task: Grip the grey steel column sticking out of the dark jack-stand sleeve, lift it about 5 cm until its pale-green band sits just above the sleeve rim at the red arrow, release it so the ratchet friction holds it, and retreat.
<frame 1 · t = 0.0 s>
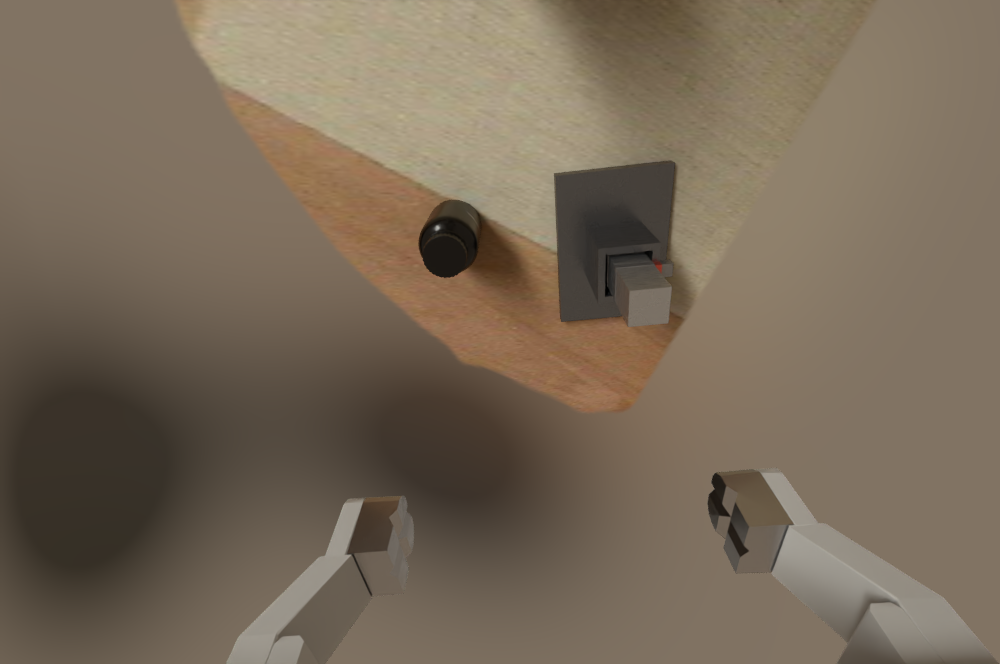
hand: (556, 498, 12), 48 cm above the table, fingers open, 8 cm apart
stand: (610, 245, 58), on the table
column: (628, 274, 50), point 10 cm above the table, slide at 0.0 cm
supplement bottle: (455, 224, 57), on the table
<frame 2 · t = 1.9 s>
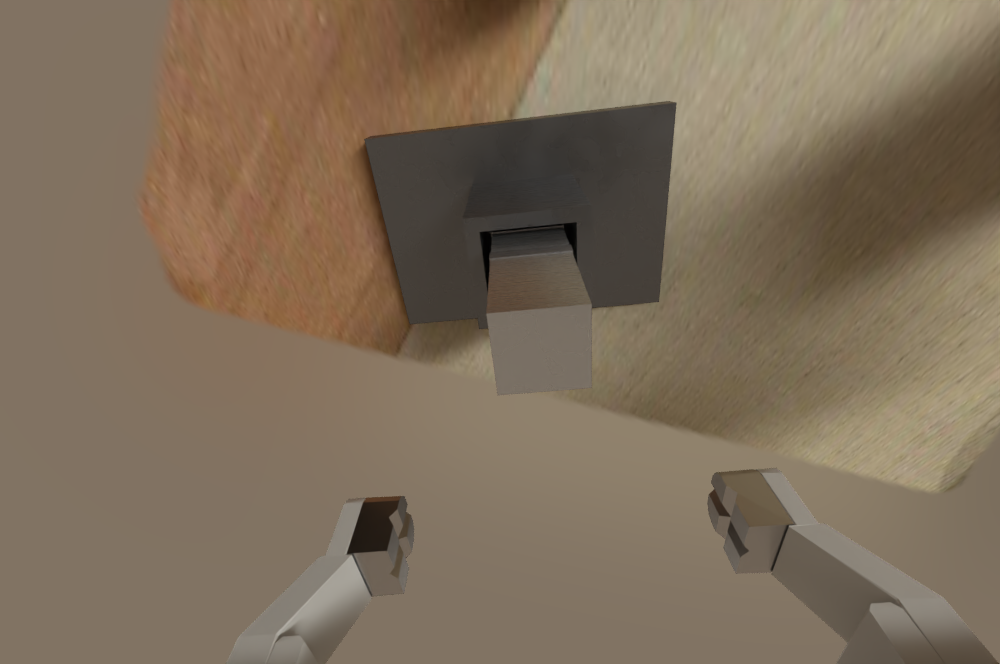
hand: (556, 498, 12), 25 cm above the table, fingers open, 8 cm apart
stand: (524, 221, 33), on the table
column: (531, 273, 24), point 10 cm above the table, slide at 0.0 cm
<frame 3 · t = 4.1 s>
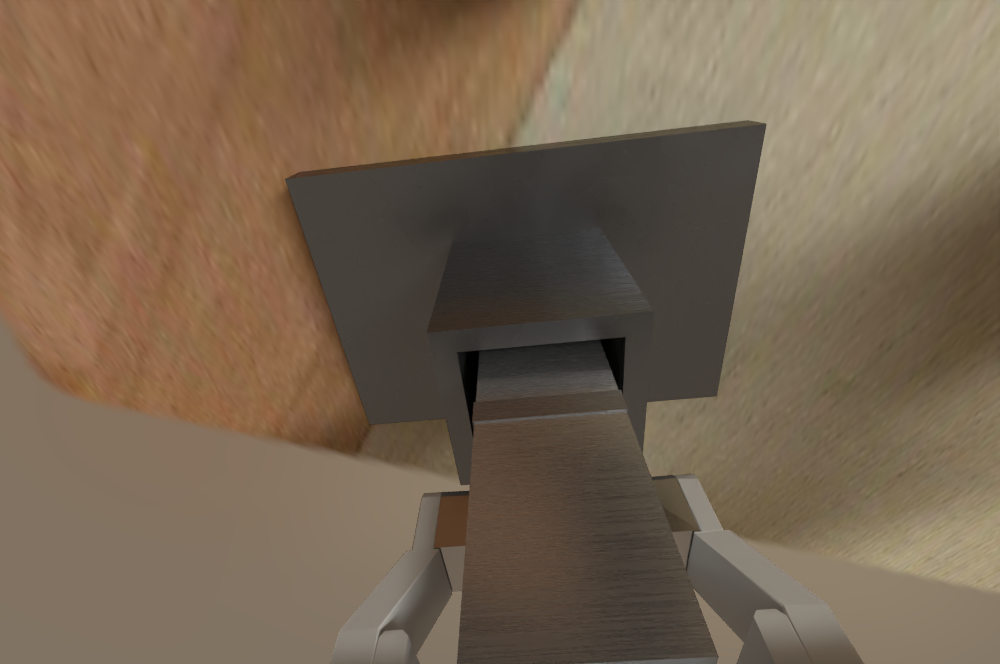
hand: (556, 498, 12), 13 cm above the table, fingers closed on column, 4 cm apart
stand: (528, 289, 23), on the table
column: (545, 413, 15), point 10 cm above the table, slide at 0.0 cm, touching gripper
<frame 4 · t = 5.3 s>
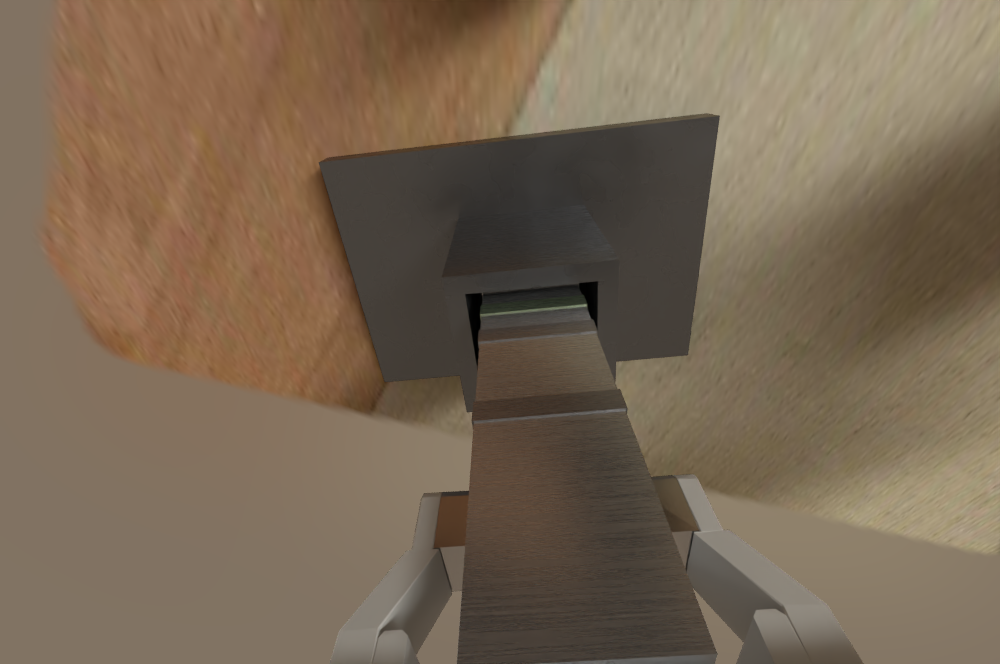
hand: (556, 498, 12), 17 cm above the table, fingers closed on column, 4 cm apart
stand: (524, 260, 27), on the table
column: (544, 413, 15), point 14 cm above the table, slide at 4.2 cm, touching gripper
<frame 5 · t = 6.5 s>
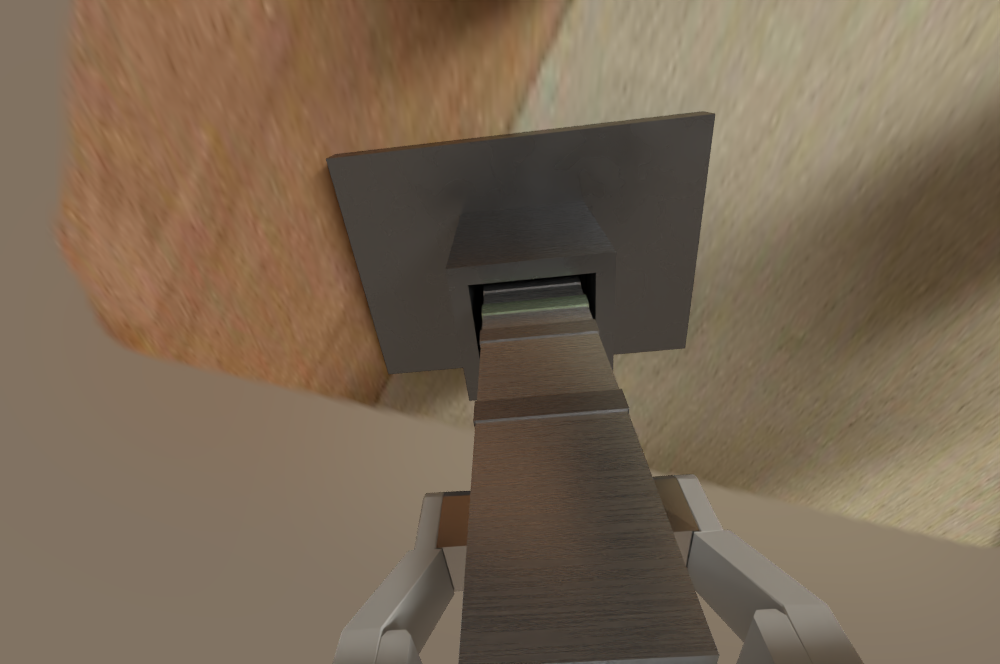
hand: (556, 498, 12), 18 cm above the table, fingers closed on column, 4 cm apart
stand: (524, 255, 27), on the table
column: (546, 412, 15), point 15 cm above the table, slide at 5.0 cm, touching gripper
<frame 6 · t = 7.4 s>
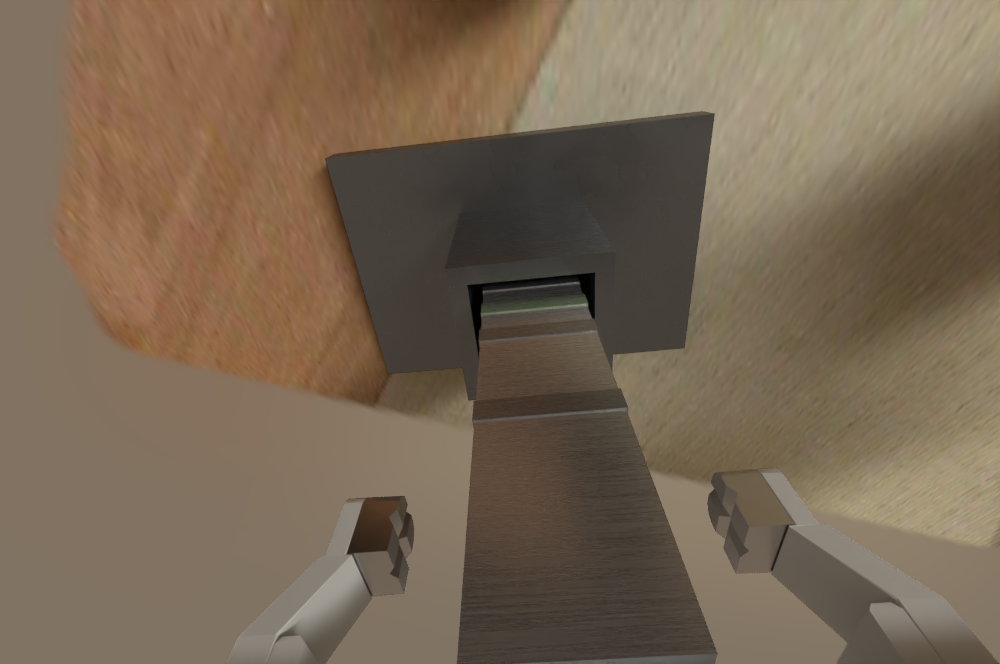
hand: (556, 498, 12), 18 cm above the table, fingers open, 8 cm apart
stand: (524, 255, 27), on the table
column: (545, 412, 15), point 15 cm above the table, slide at 4.9 cm
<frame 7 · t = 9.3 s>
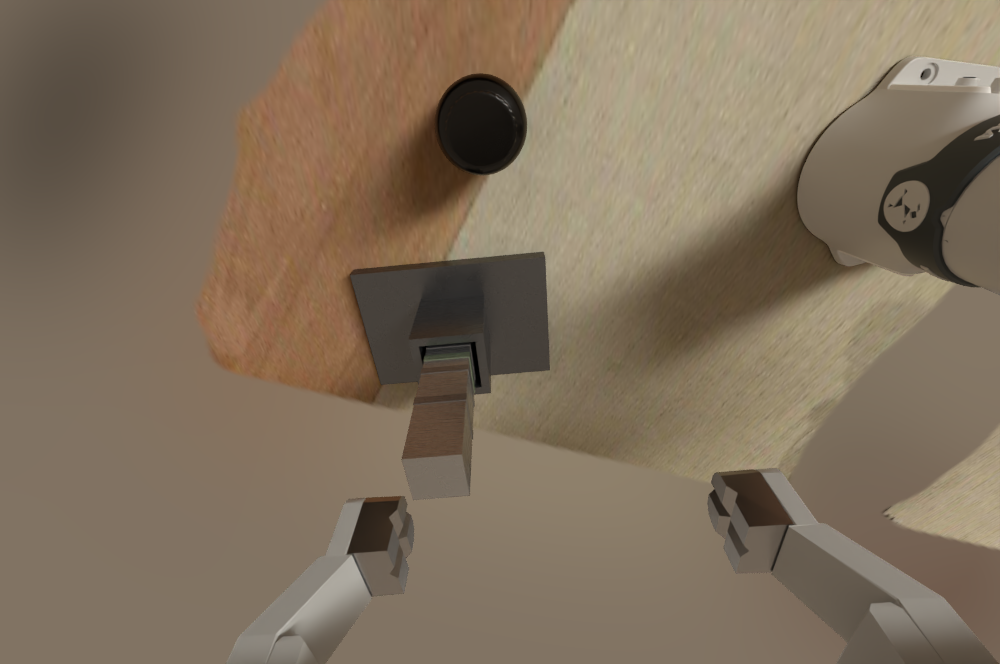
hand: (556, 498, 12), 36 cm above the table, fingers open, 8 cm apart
stand: (457, 319, 49), on the table
column: (446, 402, 37), point 15 cm above the table, slide at 4.9 cm
supplement bottle: (481, 118, 39), on the table
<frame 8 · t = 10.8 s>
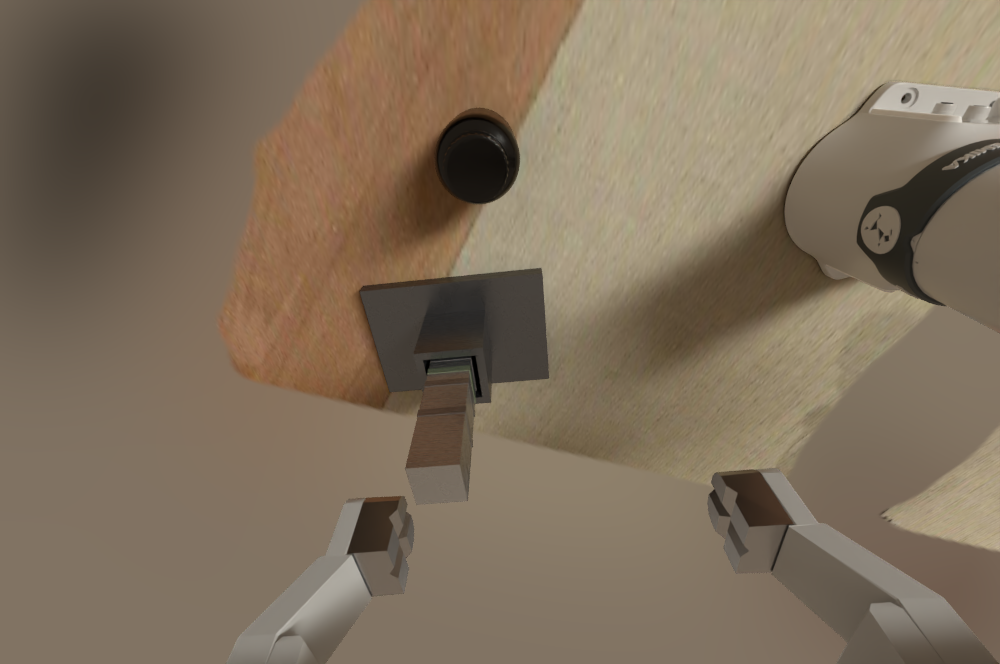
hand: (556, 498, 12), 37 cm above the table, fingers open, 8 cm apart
stand: (460, 331, 52), on the table
column: (448, 413, 40), point 15 cm above the table, slide at 4.9 cm
supplement bottle: (480, 146, 42), on the table
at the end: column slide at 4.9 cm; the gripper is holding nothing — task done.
